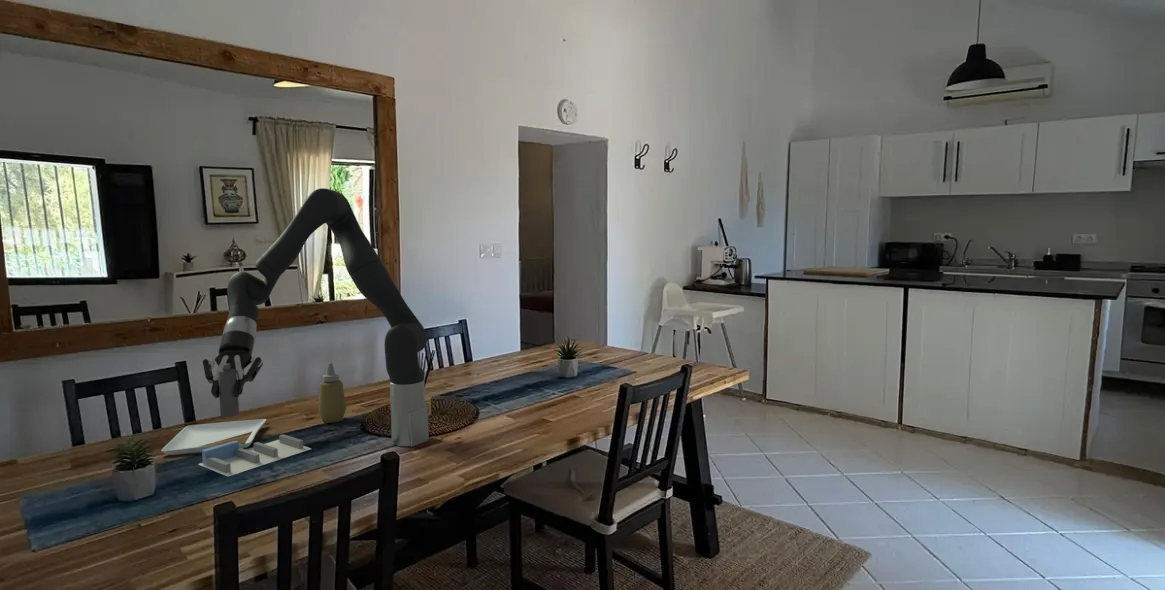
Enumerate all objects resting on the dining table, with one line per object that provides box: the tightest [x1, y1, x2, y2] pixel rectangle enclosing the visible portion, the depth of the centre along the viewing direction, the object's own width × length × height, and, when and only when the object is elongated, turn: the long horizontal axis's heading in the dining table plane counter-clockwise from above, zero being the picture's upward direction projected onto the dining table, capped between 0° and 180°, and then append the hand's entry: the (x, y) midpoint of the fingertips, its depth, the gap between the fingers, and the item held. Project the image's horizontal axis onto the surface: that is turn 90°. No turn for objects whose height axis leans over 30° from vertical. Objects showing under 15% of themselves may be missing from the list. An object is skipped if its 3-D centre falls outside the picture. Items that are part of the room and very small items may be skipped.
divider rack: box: [197, 433, 312, 477], centre depth 163 cm, size 14×22×4 cm, turn 147°
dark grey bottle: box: [218, 363, 240, 418], centre depth 156 cm, size 4×4×13 cm
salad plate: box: [161, 418, 267, 456], centre depth 176 cm, size 21×21×3 cm
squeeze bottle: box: [317, 362, 347, 424], centre depth 195 cm, size 8×8×18 cm
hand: (226, 395), depth 155 cm, fingers closed on dark grey bottle, 4 cm apart
